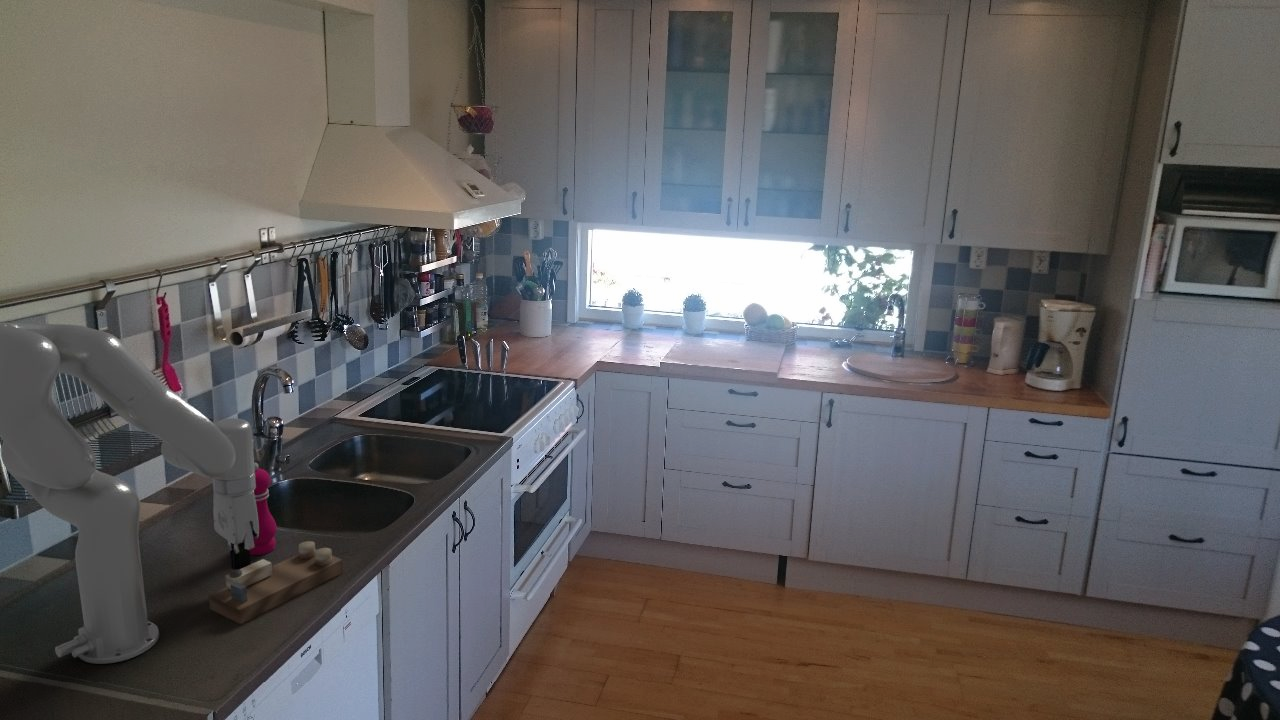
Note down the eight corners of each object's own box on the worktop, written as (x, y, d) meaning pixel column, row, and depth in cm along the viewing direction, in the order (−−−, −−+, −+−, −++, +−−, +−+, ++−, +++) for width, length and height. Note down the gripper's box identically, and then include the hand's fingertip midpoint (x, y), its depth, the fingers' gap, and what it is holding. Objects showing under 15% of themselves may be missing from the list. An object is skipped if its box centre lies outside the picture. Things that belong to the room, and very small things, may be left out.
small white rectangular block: (235, 591, 170) (233, 576, 170) (226, 587, 172) (225, 572, 171) (272, 574, 177) (271, 559, 177) (263, 570, 179) (262, 556, 178)
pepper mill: (284, 549, 195) (278, 463, 189) (251, 559, 189) (244, 472, 184) (268, 538, 199) (262, 454, 194) (236, 548, 194) (229, 462, 189)
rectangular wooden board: (240, 624, 166) (238, 595, 164) (210, 609, 170) (207, 580, 169) (343, 572, 186) (341, 546, 184) (313, 560, 190) (311, 534, 189)
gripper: (197, 476, 175) (205, 561, 180) (233, 499, 166) (240, 588, 171) (235, 466, 181) (242, 549, 185) (271, 488, 171) (277, 574, 176)
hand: (241, 567), depth 178 cm, fingers closed
